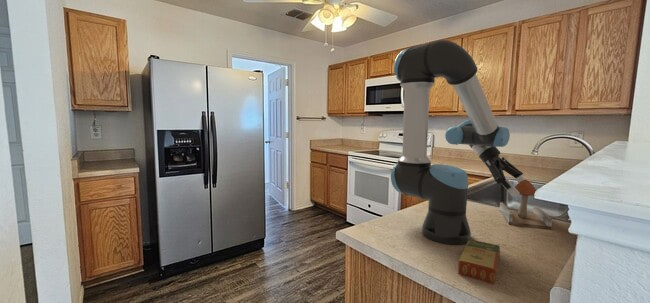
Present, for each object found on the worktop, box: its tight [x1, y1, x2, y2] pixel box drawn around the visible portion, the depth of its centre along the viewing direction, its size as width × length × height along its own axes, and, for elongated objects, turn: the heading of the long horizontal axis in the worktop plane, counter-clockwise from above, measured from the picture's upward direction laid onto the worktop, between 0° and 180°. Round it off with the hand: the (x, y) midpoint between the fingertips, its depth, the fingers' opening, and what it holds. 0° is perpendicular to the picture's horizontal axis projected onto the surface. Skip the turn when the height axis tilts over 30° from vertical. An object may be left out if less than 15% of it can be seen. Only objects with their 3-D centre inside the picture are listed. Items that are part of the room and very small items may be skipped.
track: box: [498, 201, 553, 230], centre depth 110 cm, size 13×16×4 cm
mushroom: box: [514, 178, 537, 218], centre depth 109 cm, size 8×8×15 cm
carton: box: [457, 239, 501, 285], centre depth 75 cm, size 8×16×4 cm, turn 145°
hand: (523, 192), depth 110 cm, fingers open, 13 cm apart
